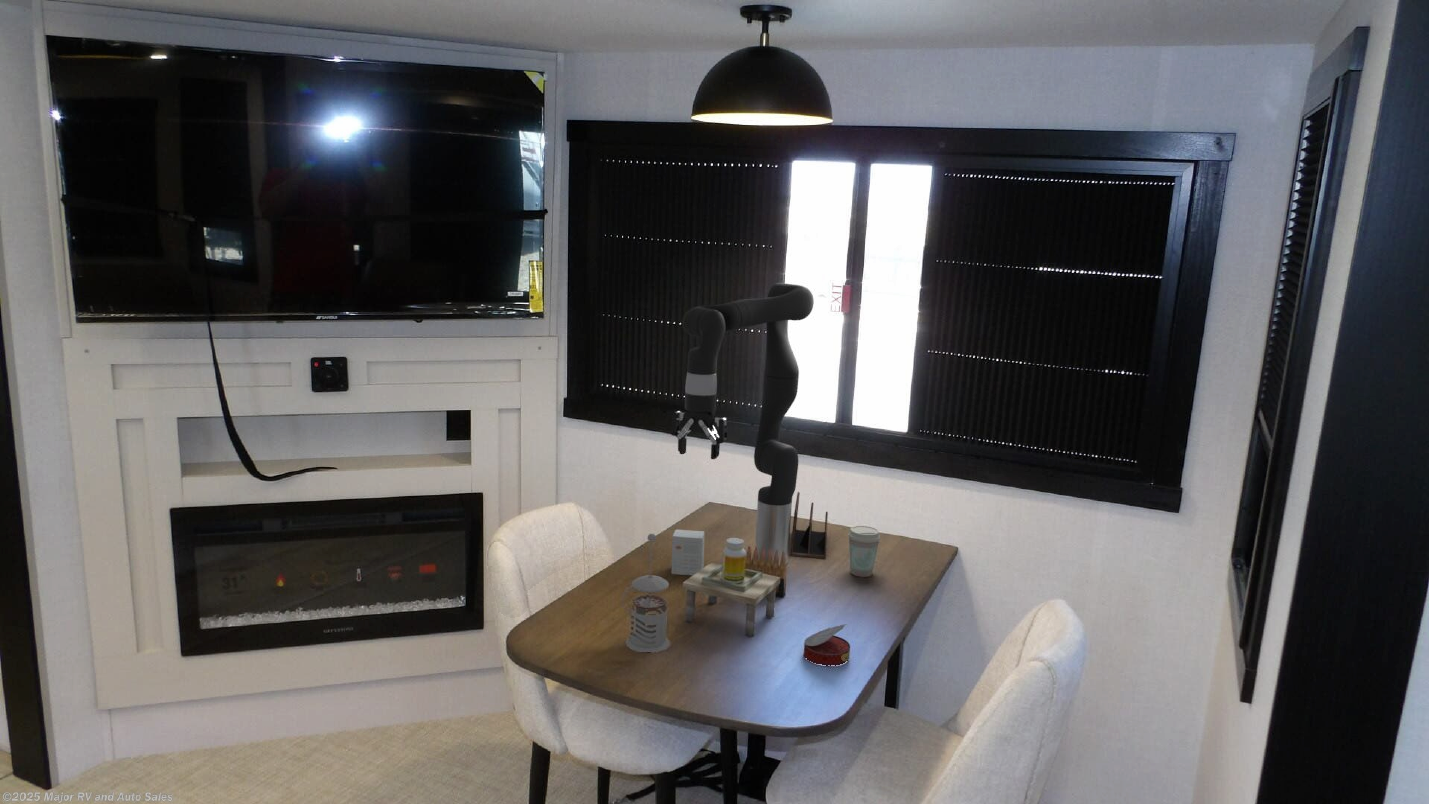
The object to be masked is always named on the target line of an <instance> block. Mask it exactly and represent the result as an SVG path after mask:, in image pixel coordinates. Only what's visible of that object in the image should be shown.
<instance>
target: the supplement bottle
mask: <svg viewBox="0 0 1429 804" xmlns="http://www.w3.org/2000/svg"><path fill="white" fill-rule="evenodd" d="M744 545H745V541H744V539H742V538H738V537H730V538H727V539H726V542H725V546H726V547H725V548H723V550H722V562H721V564H722V580H723V581H725V582H729V583H734V584H738V583H741V582H743V581H744V578H745V562H746V556H747V550H745V548H744Z"/></svg>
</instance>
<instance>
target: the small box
mask: <svg viewBox="0 0 1429 804" xmlns="http://www.w3.org/2000/svg"><path fill="white" fill-rule="evenodd" d="M671 538H672V540H671V541H672V542H671V575H679V576H680V575H681V576H682V575H683V576H693V575H694V574H696V573H697V572H699V571H700V570H702V569H703V568H704V567H705V565H704V561H705V531H701V530H689V529H675V530H674V532H673V534H672V537H671Z"/></svg>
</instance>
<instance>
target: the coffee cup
mask: <svg viewBox="0 0 1429 804" xmlns="http://www.w3.org/2000/svg"><path fill="white" fill-rule="evenodd" d="M847 537H848V544H849V545H848V549H849V550H848V551H849V570H850V574H852V575H853V576H855V577H859V578H861V577H862V578H865V577H866V578H867V577H871V576H872V575H873V573H874V572H873V571H874V567H875V563H876V557H877V552H878V547H879V543H880V542H879V541H881V535H880V531H879V530H878V529H877V528H876V527H872V526H870V525H869V526H868V525H854V526H852V527H850V530H849V532H848V534H847Z"/></svg>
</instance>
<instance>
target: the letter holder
mask: <svg viewBox="0 0 1429 804" xmlns="http://www.w3.org/2000/svg"><path fill="white" fill-rule="evenodd" d="M799 503H800V492H799V491H797V494H796V501H795V505H794V513H793V521H792V530H791V531H792V532H791V543H790V550H789V551H790V553H789V555H790V557H791V556H792V557H800V556H801V558H814V559H826V558H827V541H828V514H829V513H828V511H825V516H824V517H825V518H824V519H825V522H824V531H814V530H812V529H813V515H814V502H811V504H810V512H809V513H810V514H809V523H808V527H806V529H805V530H803V529H801V530H800V529H797V523H798V513H799Z"/></svg>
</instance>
